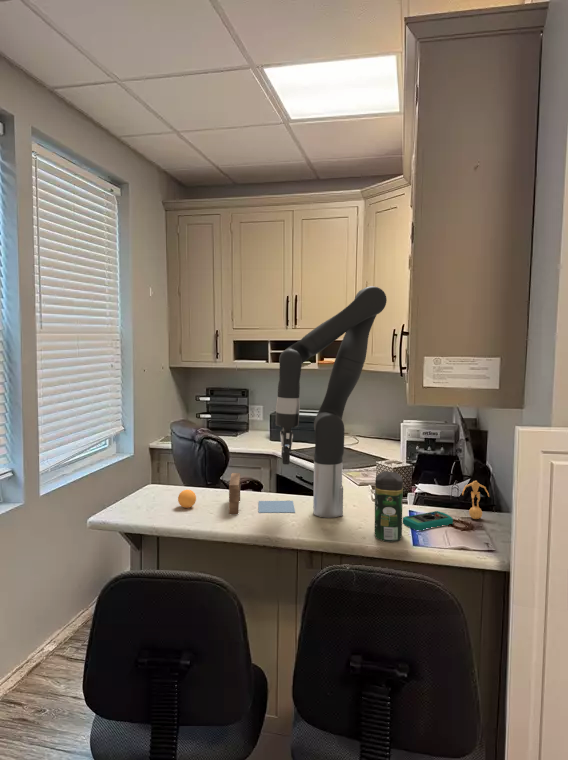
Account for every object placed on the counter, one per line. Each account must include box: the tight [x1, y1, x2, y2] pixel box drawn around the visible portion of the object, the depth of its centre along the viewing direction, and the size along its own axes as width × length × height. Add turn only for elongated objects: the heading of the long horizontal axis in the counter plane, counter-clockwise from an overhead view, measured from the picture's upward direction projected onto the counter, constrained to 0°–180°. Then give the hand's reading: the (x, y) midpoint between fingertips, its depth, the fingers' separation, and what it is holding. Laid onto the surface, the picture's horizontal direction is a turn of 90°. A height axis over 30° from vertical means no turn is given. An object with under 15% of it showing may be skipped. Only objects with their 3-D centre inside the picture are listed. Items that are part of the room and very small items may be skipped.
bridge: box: [228, 472, 241, 515], centre depth 174 cm, size 3×15×10 cm, turn 2°
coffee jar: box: [374, 470, 404, 543], centre depth 149 cm, size 10×8×19 cm
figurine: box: [461, 480, 490, 520], centre depth 166 cm, size 8×6×12 cm
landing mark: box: [258, 500, 296, 514], centre depth 175 cm, size 12×12×1 cm
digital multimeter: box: [402, 510, 454, 531], centre depth 160 cm, size 7×15×3 cm, turn 116°
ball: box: [177, 489, 197, 509], centre depth 174 cm, size 6×6×6 cm
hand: (285, 461), depth 167 cm, fingers open, 8 cm apart
